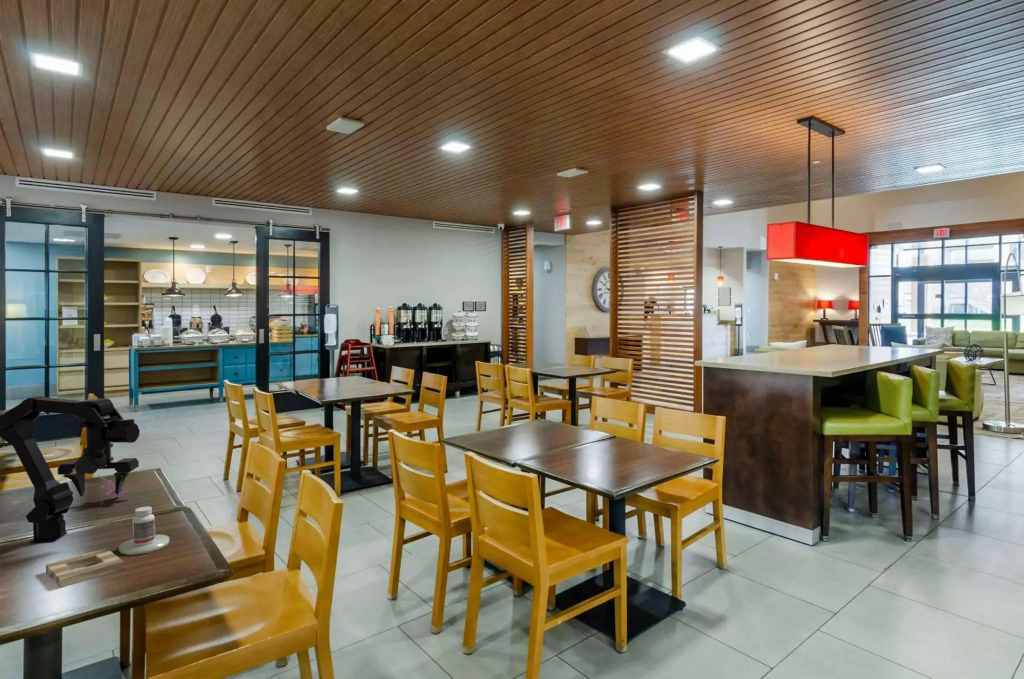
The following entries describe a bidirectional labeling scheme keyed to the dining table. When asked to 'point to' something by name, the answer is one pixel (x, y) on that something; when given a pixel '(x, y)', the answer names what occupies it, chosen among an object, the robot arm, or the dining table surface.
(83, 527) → the dining table surface
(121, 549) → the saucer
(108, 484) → the lily
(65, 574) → the socket block
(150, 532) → the pill bottle
